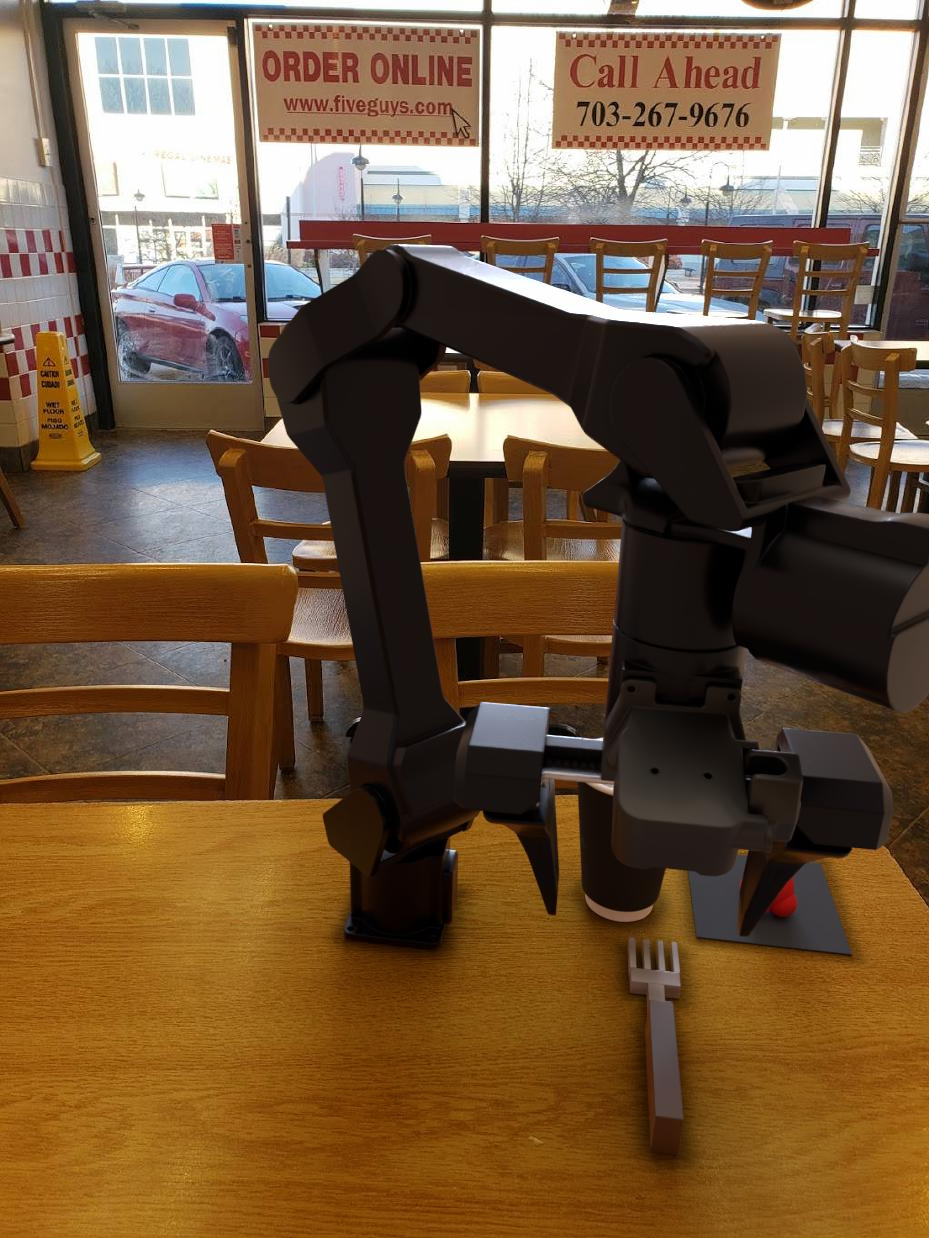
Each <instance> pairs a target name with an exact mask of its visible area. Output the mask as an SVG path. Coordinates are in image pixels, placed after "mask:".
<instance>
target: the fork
mask: <svg viewBox="0 0 929 1238" xmlns="http://www.w3.org/2000/svg"><path fill="white" fill-rule="evenodd" d="M655 963H656V964H655V965H656V966H655V967H656V969H652V964H651V947H650V939H649V938H643V939H642V944H641V964H642V965H641V966H642V968H640V967H637V949H636V937H632V936H629V937H628V944H627V967H628V969H627V970H628V980H629V993H630V994H635V995H642V996H643V995H644V996H646V1020H645V1026H644V1027H645V1029H644V1044H645V1062H646V1065H645V1066H646V1085H647V1086H646V1087H647V1104H648V1106H647V1107H648V1125H649V1127H648V1128H649V1146H650V1147H649V1148H650V1152H651V1153H656V1154H663V1155H668V1156H669V1155H670V1156H679V1155H680V1148H681V1141H682V1134H683V1128H684V1122H685V1121H684V1120H685V1118H684V1117H685V1116H684V1109H683V1108H684V1107H683V1096H682V1095H683V1094H682V1086H681V1085H682V1083H681V1074H680V1073H681V1071H680V1061H679V1050H678V1049H679V1048H678V1040H677V1029H676V1028H677V1027H676V1020H675V1019H676V1015H675V1006H674V1002H673V1001H666V998H670V999H677V1000H679V999H680V997H681V996H680V995H681V988H682V984H681V966H680V957H679V946H678V942H674V941H671V942H670V946H669V963H670V971H666V959H665V948H664V941H663V940H656V945H655Z"/></svg>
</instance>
